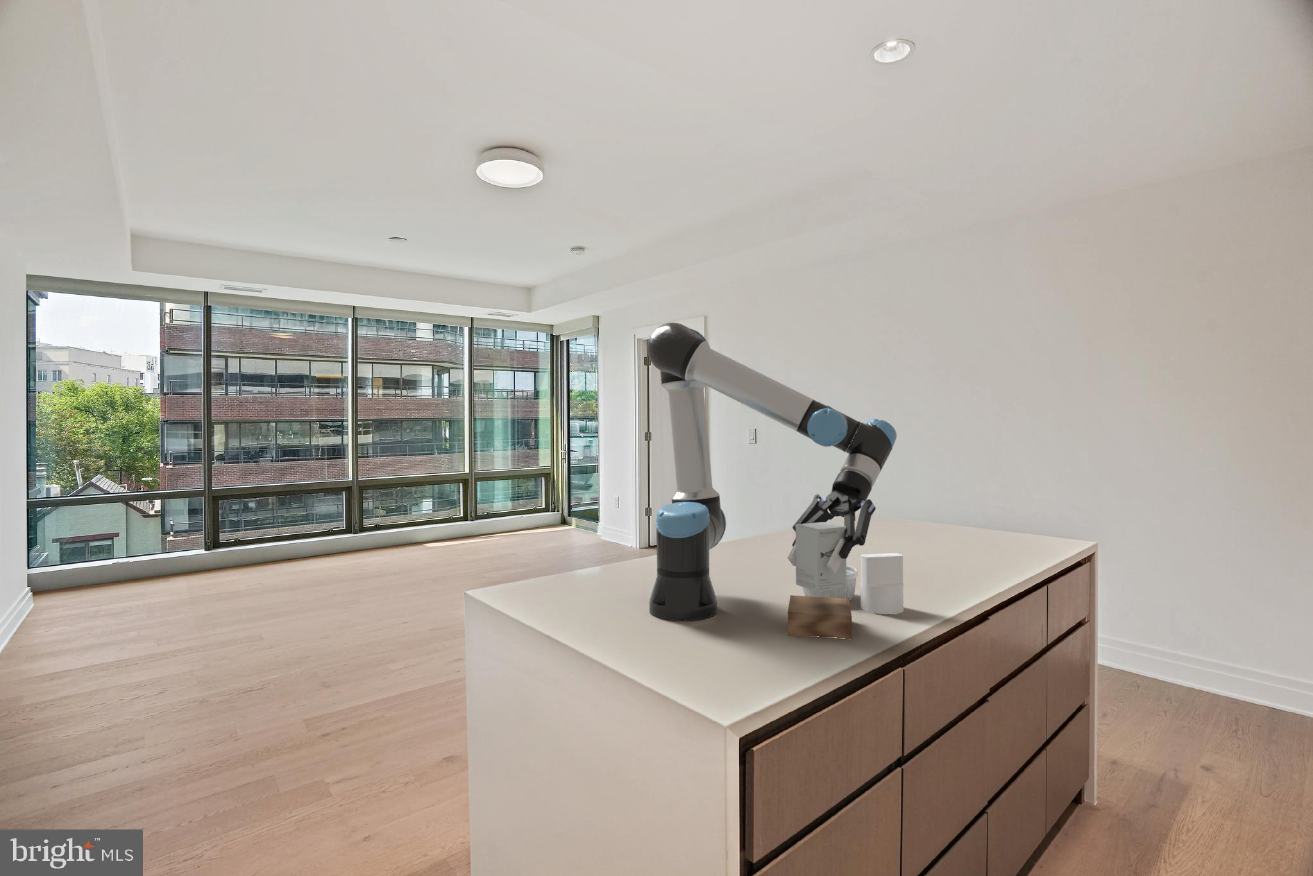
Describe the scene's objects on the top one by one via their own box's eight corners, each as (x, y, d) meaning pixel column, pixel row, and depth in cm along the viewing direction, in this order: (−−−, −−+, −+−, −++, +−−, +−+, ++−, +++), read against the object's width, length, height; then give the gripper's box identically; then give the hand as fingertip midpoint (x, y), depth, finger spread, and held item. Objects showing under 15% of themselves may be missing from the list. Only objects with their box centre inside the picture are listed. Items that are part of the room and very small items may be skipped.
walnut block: (787, 636, 126) (787, 611, 126) (790, 618, 138) (790, 595, 138) (851, 641, 123) (851, 615, 123) (848, 622, 135) (848, 598, 135)
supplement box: (817, 593, 126) (817, 528, 125) (794, 584, 132) (794, 523, 132) (847, 588, 129) (847, 525, 128) (824, 580, 135) (823, 520, 135)
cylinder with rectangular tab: (872, 615, 138) (872, 560, 138) (853, 604, 147) (853, 552, 147) (911, 613, 140) (911, 558, 139) (890, 602, 149) (890, 550, 148)
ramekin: (864, 605, 146) (864, 574, 146) (806, 605, 147) (806, 575, 147) (848, 590, 160) (848, 562, 159) (795, 590, 160) (795, 562, 160)
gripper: (909, 495, 132) (866, 586, 122) (820, 488, 148) (776, 568, 138) (895, 471, 128) (850, 563, 118) (806, 466, 145) (760, 546, 135)
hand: (810, 565), depth 128 cm, fingers closed on supplement box, 9 cm apart
